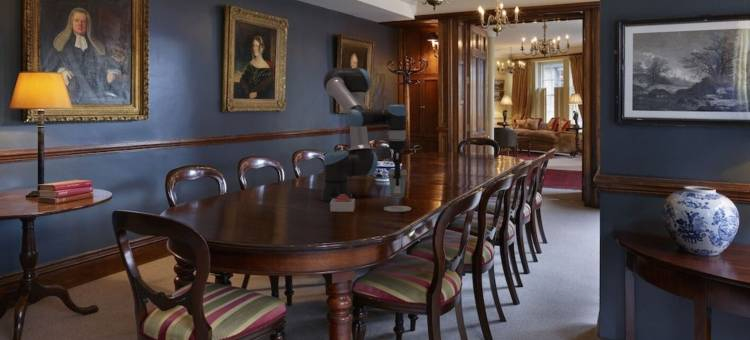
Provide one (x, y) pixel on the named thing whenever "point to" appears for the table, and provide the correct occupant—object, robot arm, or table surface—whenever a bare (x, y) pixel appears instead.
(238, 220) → the table surface
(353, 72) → the robot arm
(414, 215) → the table surface
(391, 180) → the coffee cup
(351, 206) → the popper housing
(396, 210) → the pad
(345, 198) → the dome plunger
